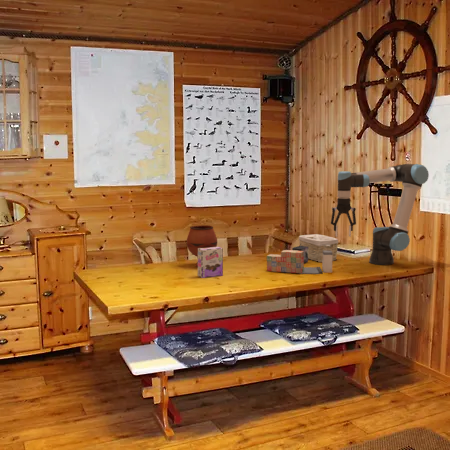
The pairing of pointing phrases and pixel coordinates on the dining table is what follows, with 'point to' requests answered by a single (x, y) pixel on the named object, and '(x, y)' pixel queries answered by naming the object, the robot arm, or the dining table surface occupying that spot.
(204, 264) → the candy box
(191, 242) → the terracotta clay vase
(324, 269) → the tall block
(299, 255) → the stack of blocks
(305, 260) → the small box
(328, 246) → the storage basket
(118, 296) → the dining table surface
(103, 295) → the dining table surface
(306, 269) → the pad
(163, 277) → the dining table surface
